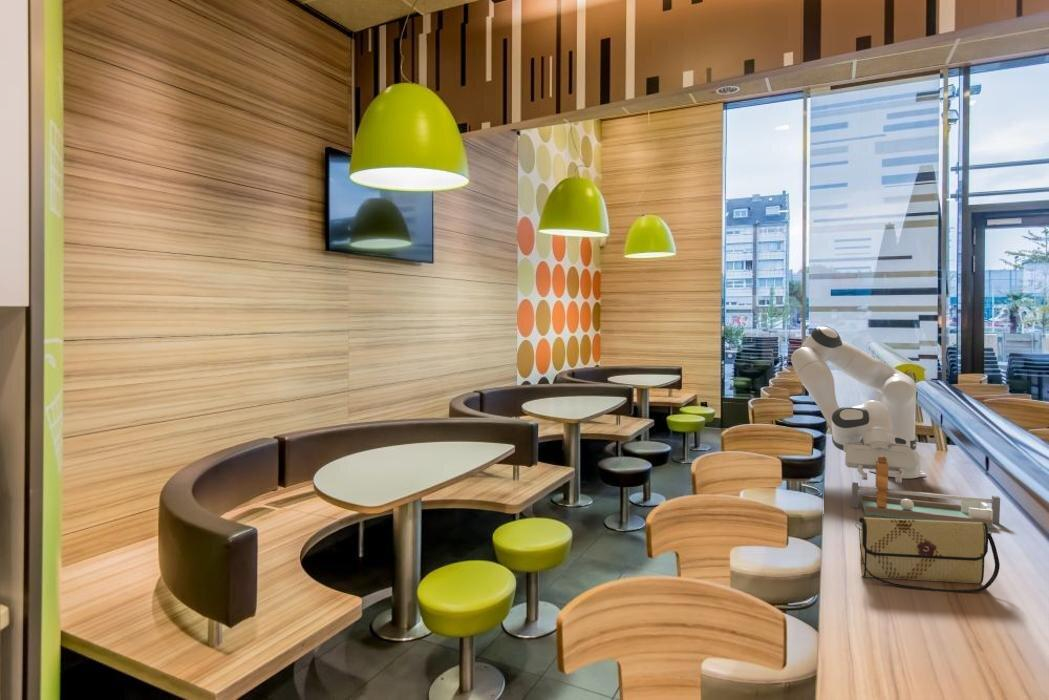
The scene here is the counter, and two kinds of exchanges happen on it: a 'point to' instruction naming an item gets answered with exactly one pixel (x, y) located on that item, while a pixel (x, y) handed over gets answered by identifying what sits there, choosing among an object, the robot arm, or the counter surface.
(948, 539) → the clutch purse
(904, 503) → the ball
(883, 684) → the counter surface
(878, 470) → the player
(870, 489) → the pitch
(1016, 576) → the counter surface
